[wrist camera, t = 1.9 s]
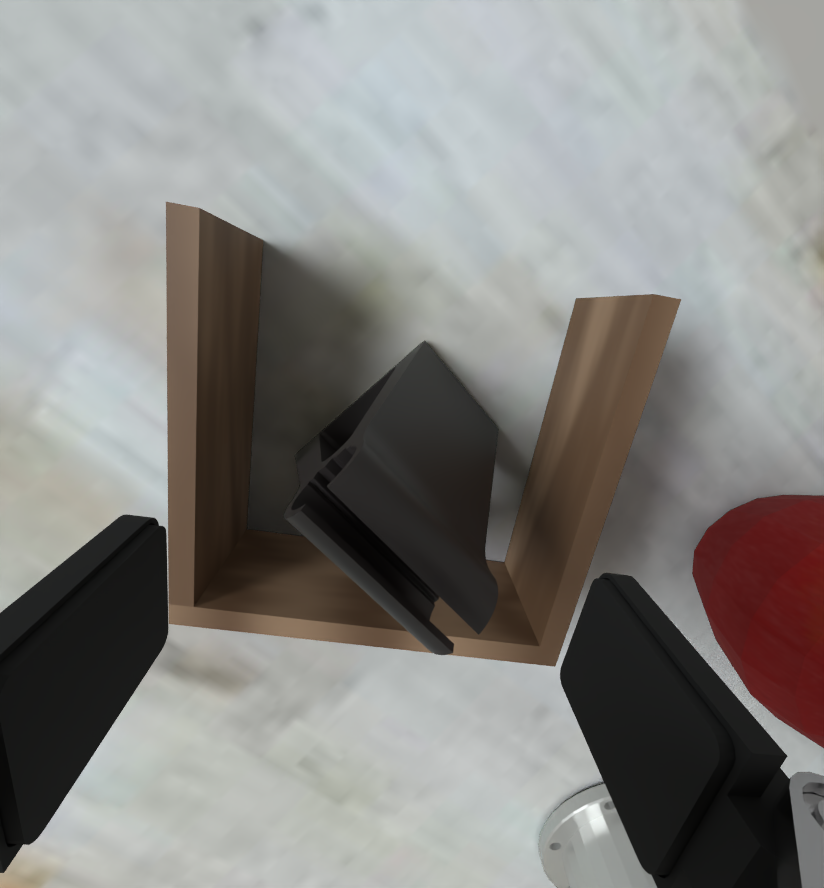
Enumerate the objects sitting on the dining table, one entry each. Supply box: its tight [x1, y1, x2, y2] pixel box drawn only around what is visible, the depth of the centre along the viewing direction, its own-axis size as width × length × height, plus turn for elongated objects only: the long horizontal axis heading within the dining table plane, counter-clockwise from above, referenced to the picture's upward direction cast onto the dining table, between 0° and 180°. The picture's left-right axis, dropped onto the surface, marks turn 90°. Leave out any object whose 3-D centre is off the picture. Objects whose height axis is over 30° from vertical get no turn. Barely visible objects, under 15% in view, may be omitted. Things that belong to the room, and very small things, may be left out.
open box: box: [166, 202, 681, 666], centre depth 19 cm, size 17×16×6 cm
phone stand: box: [284, 341, 498, 655], centre depth 17 cm, size 9×6×12 cm, turn 130°
